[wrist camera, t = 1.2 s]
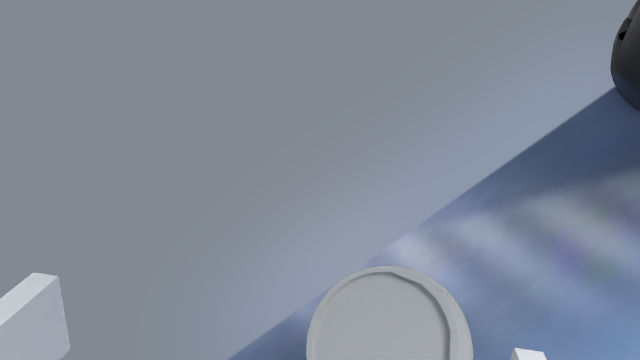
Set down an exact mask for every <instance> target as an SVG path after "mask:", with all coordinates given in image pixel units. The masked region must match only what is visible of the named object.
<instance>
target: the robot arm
mask: <svg viewBox="0 0 640 360" xmlns="http://www.w3.org/2000/svg"><path fill="white" fill-rule="evenodd" d="M611 74H612V78H613V81H614V83H615V85H616V87H617V89H618V90H619V92H620V93H621V94H622V96H623V97H624V98H625V99H626V100H627V101H628V102H630V103H631V104H632V105H633V106H635V107H636V108H638V109H639V110H640V0H637V2H636V4H635V5H634V7H633V8H632V10H631V12H630V13H629V15H628V17H627V18H626V19H625V21H624V22H623V24H622V26H621V28H620V29H619V31H618V33H617V35H616V38H615V41H614V45H613V52H612V59H611ZM69 349H70V343H69V337H68V331H67V326H66V320H65V313H64V308H63V302H62V296H61V290H60V284H59V278H58V276H53V275H47V274H40V273H32V274H31V275H30V276H29V277H27V278H26V279H25V280H23V281H22V282H21V283H20V284H18V285H17V286H16V287H15V288H13V289H12V290H11V291H10V292H8V293H7V294H6V295H5V296H3V297H2V298H1V299H0V360H60V359H61V358H62V357H63V356H64V355H65V354H66V353H67V351H68V350H69ZM510 360H547V359H546V357H545V355H544V353H543V352H539V351H533V350H526V349H520V348H514V350H513V353H512V356H511V359H510Z"/></svg>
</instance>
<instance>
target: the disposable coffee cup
mask: <svg viewBox="0 0 640 360" xmlns="http://www.w3.org/2000/svg"><path fill="white" fill-rule="evenodd" d="M306 357H307V360H473V345H472V339H471V333H470V330H469V327H468V324H467V321H466V318H465V316H464V314H463V312H462V310H461V308H460V307H459V305H458V303H457V302H456V300H455V299H454V298H453V297H452V295H451V294H450V293H449V292H448V290H447V289H446V288H444V287H443V286H442V285H441V284H439V283H438V282H437V281H436V280H435V279H433V278H431V277H430V276H428V275H426V274H424V273H422V272H419V271H417V270H414V269H412V268H407V267H402V266H390V265H389V266H373V267H369V268H365V269H362V270H359V271H356V272H353V273H351V274H350V275H348V276H346V277H344V278H343V279H341V280H340V281H339V282H338V283H336V284H335V285H334V286H333V287H332V288H331V289H330V290H329V291H328V292H327V294H326V295H325V296H324V297H323V298H322V300H321V301H320V303H319V305H318V306H317V308H316V310H315V312H314V314H313V317H312V319H311V322H310V326H309V330H308V333H307V345H306Z"/></svg>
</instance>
